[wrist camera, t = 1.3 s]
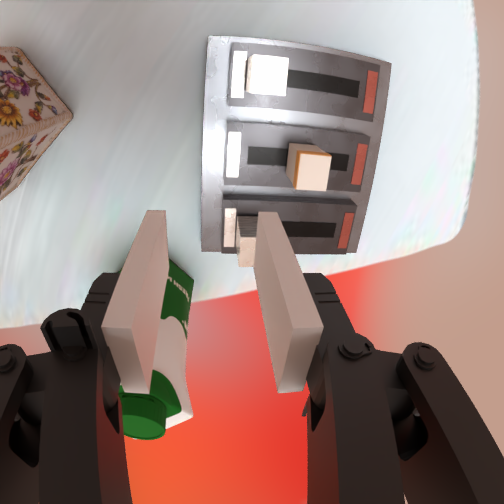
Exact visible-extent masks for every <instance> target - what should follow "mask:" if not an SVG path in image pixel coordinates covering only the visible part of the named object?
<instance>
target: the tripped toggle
mask: <svg viewBox="0 0 504 504" xmlns="http://www.w3.org/2000/svg"><path fill="white" fill-rule="evenodd" d="M331 157H332V156H331V155H330V154H328V153H326V152H324V151H323V150H322V149H320V148H319V147H318V146H316V145H307V144H296V143H289V150H288V159H287V168H286V175H287V176H288V178H289V179H290V181H291V182H292V184H293V187H294V188H295V189H297V190H314V191H326V188H327V182H328V176H329V170H330V164H331Z"/></svg>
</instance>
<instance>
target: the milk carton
mask: <svg viewBox="0 0 504 504" xmlns="http://www.w3.org/2000/svg"><path fill="white" fill-rule="evenodd" d="M122 269H123V268H122ZM122 269H121V270H120V271H119V272H118V273H121V271H122ZM193 283H194V280H193V279H191V278H190V277H189V276H188V275H187V274H186V273H185V272H183V271H182V270H181V269H180V268H179V267H178V266H177V265H175V264H174V263H173V262H172V261H171V260H170V259H169V271H168V277H167V282H166V287H165V293H164V298H163V304H162V310H161V316H160V322H159V328H158V334H157V341H156V347H155V354H154V361H153V369H152V376H151V384H150V392H149V394H142V393H128V392H124V390H123V387H122V384H121V383H120V388H119V393H118V396H119V398H120V401H121V404H122V417H123V431H124V435H126V436H128V437H131V438H134V439H141V440H153V439H158V438H160V437H162V436H163V435H164V434H165V430H166V429H167V428H169V427H172V426H174V425H176V424H179V423H181V422H183V421H185V420H188V419H190V418H192V417H193V411H192V407H191V402H190V398H189V393H188V389H187V384H186V379H185V372H186V350H187V349H186V348H187V333H188V319H189V310H190V304H191V297H192V290H193Z"/></svg>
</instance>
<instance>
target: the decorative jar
mask: <svg viewBox="0 0 504 504" xmlns="http://www.w3.org/2000/svg"><path fill="white" fill-rule="evenodd" d="M72 117H73V115H72V113H71V112H70V111H69V109H68V108H67V107H66V105H65V104H64V103H63V102H62V101H61V100H60V99H59V97H58V96H57V95H56V94H55V93H54V91H53V90H52V89H51V87H50V86H49V85H48V84H47V83H46V81H45V80H44V79H43V77H42V76H41V75H40V74H39V72H38V71H37V70H36V69H35V67H34V66H33V65H32V64H31V63H30V61H29V60H28V59H27V58H26V56H25V55H24V54H23V52H22V51H21V50H20V49H19V48H17V47H0V201H1V200H2V199H3V198H4V197H6V196H7V195H8V194H9V193H11V192H12V191H13V190H14V189H15V188H17V187H18V186H19V184H20V183H21V181H22V180H23V178H24V177H25V176H26V174H27V173H28V172H29V170H30V169H31V168H32V167H33V165H34V164H35V163H36V162H37V160H38V159H39V157H40V156H41V155H42V154H43V153H44V151H45V150H46V149H47V148H48V147H49V145H50V144H51V143H52V142H53V140H54V139H55V138H56V137H57V136H58V135H59V133H60V132H61V131H62V129H63V128H64V127H65V126H66V125H67V124H68V123H69V122H70V120H71V119H72Z"/></svg>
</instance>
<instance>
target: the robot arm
mask: <svg viewBox="0 0 504 504" xmlns="http://www.w3.org/2000/svg"><path fill="white" fill-rule="evenodd" d="M168 271H169V258H168V243H167V227H166V210H148V211H147V212H146V215H145V217H144V219H143V221H142V223H141V226H140V228H139V230H138V233H137V235H136V237H135V239H134V242H133V244H132V247H131V249H130V251H129V254H128V256H127V259H126V261H125V264H124V266H123V269H122V271H121V273H102V274H101V275H100V276H99V277H98V278H97V279H96V280H95V281H94V282H93V284H92V286H91V288H90V290H89V294H87V297H86V299H85V303H83V306H82V308H81V310H78V309H72V308H67V309H62V310H58V311H56V312H54V313H52V314H50V315H49V316H48V317H47V318H46V319H45V320H44V321H43V323H42V325H41V328H40V329H41V331H42V333H43V335H44V337H45V339H46V341H47V343H48V346H49V348H50V350H51V352H47V353H42V354H36V355H30V356H26V354H25V352H24V351H23V349H22V348H21V347H19V346H17V345H15V344H7V345H3V346H0V504H133V503H132V497H131V492H130V484H129V477H128V469H127V461H126V453H125V442H124V431H123V417H122V404H121V401H120V398H119V396H118V393H119V388H120V383H121V384H122V387H123V390H124V392H128V393H142V394H149V392H150V384H151V376H152V369H153V361H154V354H155V347H156V341H157V334H158V328H159V322H160V316H161V310H162V304H163V298H164V293H165V287H166V282H167V277H168ZM254 273H255V279H256V284H257V289H258V294H259V299H260V304H261V309H262V314H263V319H264V325H265V330H266V335H267V340H268V345H269V350H270V356H271V360H272V365H273V371H274V376H275V381H276V386H277V391H278V393H286V392H298V391H303V389H304V386H305V383H306V380H307V384H308V387H309V391H310V394H309V397H308V399H307V402H306V404H305V407H304V409H303V413H302V416H306V414H307V435H308V436H307V438H308V496H307V504H405V499H404V494H405V497H406V499H407V502H408V504H504V457H503V456H502V453H501V452H500V450H499V448H498V446H497V444H496V442H495V441H494V439H493V437H492V435H491V433H490V432H489V430H488V428H487V426H486V425H485V423H484V422H483V419H482V418H481V416H480V414H479V413H478V411H477V409H476V408H475V406H474V404H473V403H472V401H471V399H470V398H469V396H468V395H467V393H466V392H465V390H464V388H463V387H462V385H461V384H460V382H459V380H458V379H457V377H456V376H455V374H454V373H453V371H452V370H451V368H450V367H449V365H448V364H447V362H446V361H445V359H444V358H443V356H442V355H441V354H440V353H439V352H438V350H437V349H436V348H434V347H432V346H431V345H429V344H425V343H422V342H418V343H416V342H415V343H412V344H409V345H408V346H407V347H406V348H405V350H404V351H403V353H402V354H399V353H392V352H385V351H380V350H376V349H375V348H374V346H373V344H372V343H371V342H370V341H369V340H368V339H367V338H366V337H364V336H362V335H360V334H358V333H355V330H354V328H353V326H352V324H351V322H350V320H349V318H348V316H347V314H346V312H345V309H344V308H343V305H342V303H340V299H339V297H338V296H337V294H336V291H335V289H334V287H333V285H332V283H331V282H330V281H329V280H328V279H327V278H326V277H325V276H324V275H322V274H321V273H302V271H301V268H300V266H299V263H298V261H297V259H296V256H295V254H294V251H293V249H292V246H291V244H290V242H289V239H288V237H287V234H286V232H285V230H284V227H283V225H282V223H281V220H280V218H279V216H278V213H277V212H258V223H257V234H256V246H255V257H254Z"/></svg>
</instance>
